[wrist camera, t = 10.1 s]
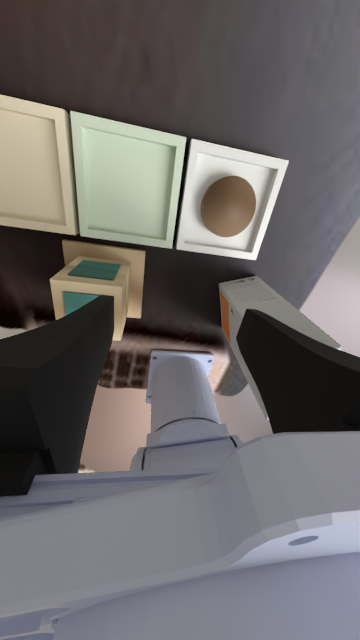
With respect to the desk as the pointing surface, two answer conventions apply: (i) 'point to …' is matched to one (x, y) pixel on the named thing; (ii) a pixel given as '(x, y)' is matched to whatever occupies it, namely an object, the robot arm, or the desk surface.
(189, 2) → the desk surface
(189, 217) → the tray white
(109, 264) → the beige block teal panels
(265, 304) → the skincare box
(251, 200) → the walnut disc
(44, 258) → the desk surface
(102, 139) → the tray sage
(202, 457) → the robot arm
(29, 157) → the tray sand
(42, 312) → the desk surface
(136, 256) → the cork pad
